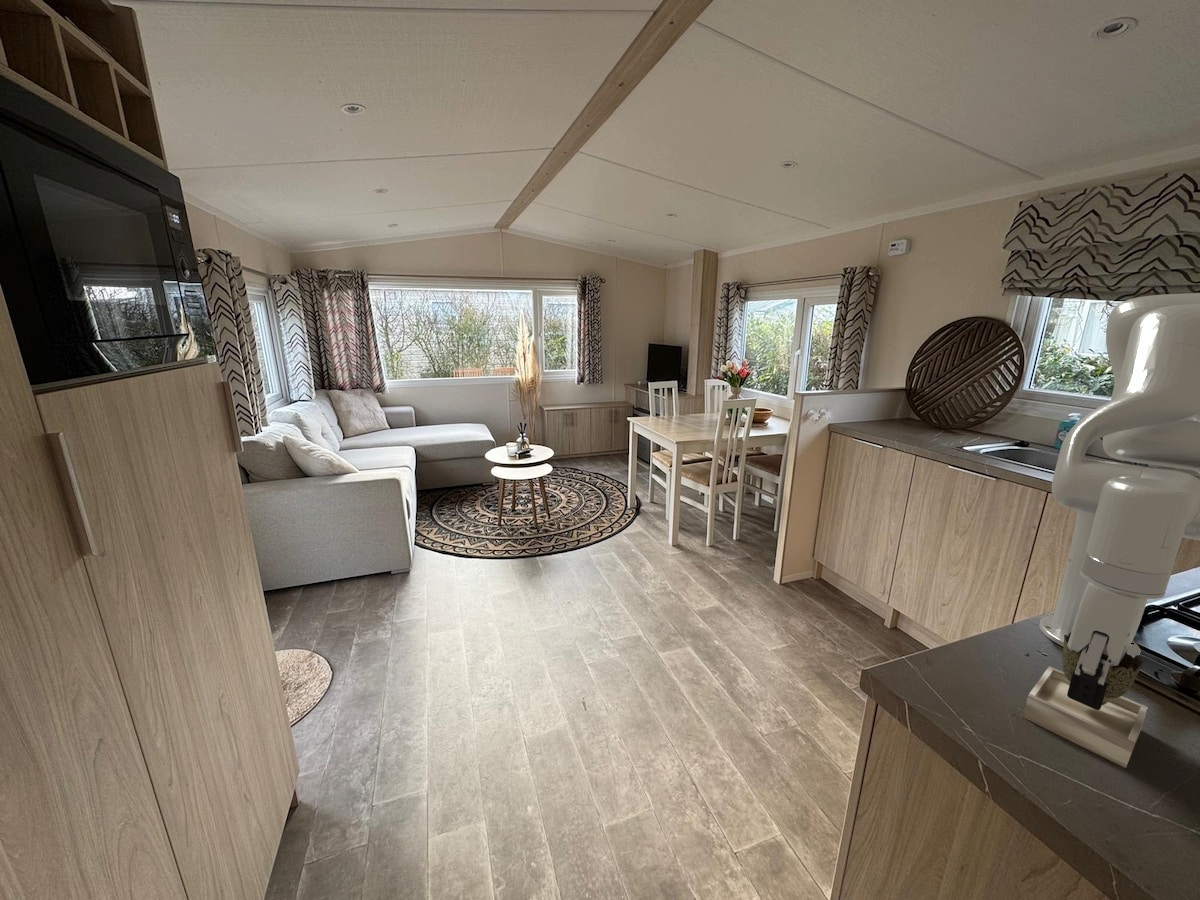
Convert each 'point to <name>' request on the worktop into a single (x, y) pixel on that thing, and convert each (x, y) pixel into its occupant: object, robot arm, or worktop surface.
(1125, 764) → the birch tray
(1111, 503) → the robot arm
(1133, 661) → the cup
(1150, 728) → the worktop surface
